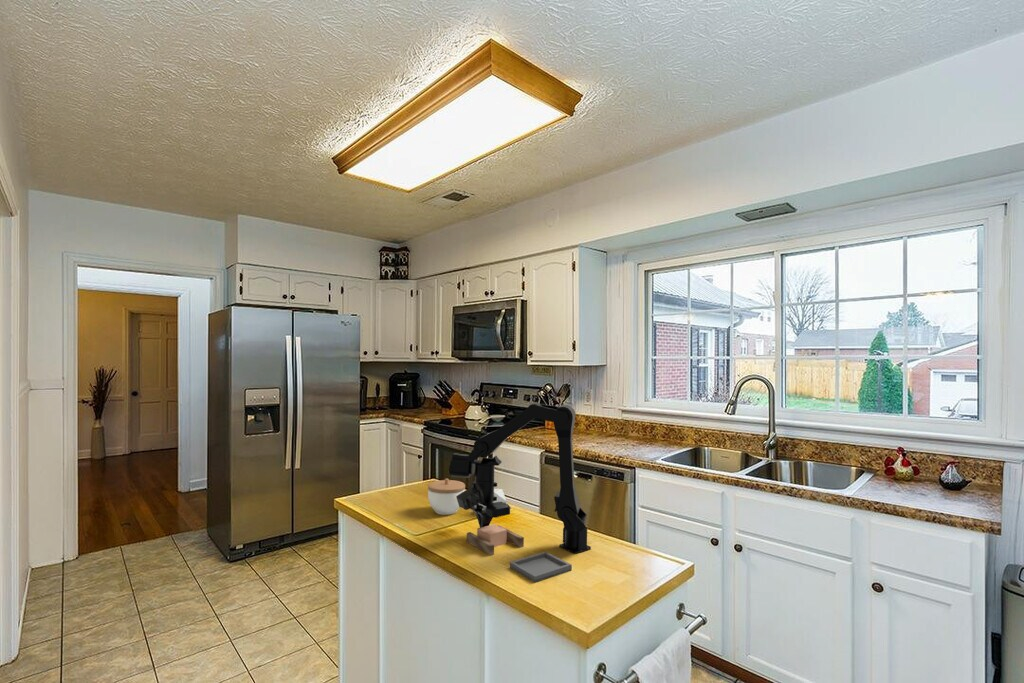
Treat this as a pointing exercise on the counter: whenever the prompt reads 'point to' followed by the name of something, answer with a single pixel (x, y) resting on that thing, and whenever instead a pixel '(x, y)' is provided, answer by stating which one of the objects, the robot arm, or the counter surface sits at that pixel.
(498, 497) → the die
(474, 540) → the corridor rails
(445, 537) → the counter surface
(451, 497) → the lidded bowl
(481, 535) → the block
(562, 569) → the tray
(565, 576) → the counter surface
